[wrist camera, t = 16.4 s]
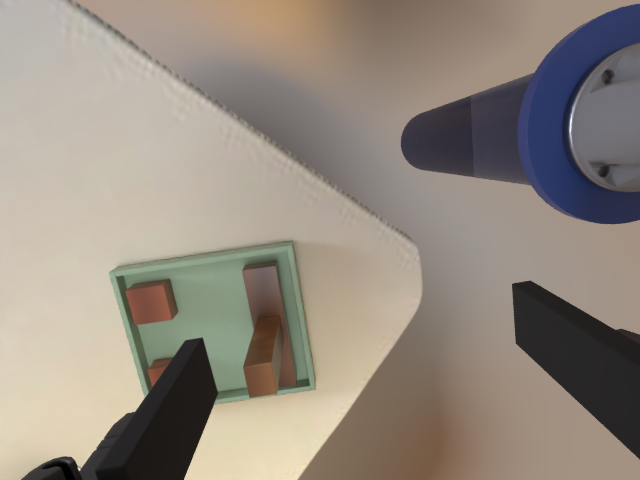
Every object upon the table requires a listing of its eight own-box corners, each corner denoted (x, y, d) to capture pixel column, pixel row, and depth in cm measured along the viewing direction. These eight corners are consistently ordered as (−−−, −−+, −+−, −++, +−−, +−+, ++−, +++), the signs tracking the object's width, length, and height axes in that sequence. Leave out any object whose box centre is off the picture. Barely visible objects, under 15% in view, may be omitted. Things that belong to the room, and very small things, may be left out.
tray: (292, 240, 40) (292, 245, 38) (315, 379, 44) (315, 389, 42) (117, 266, 40) (108, 272, 38) (156, 403, 44) (149, 414, 42)
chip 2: (189, 354, 42) (183, 364, 40) (196, 385, 43) (191, 396, 41) (154, 359, 42) (147, 369, 40) (162, 390, 43) (156, 401, 41)
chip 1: (170, 278, 40) (163, 284, 38) (178, 312, 41) (172, 320, 39) (133, 283, 40) (125, 290, 38) (143, 317, 41) (134, 325, 39)
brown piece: (277, 258, 40) (266, 299, 29) (297, 372, 43) (294, 448, 32) (245, 263, 40) (222, 305, 29) (267, 376, 43) (254, 454, 32)
